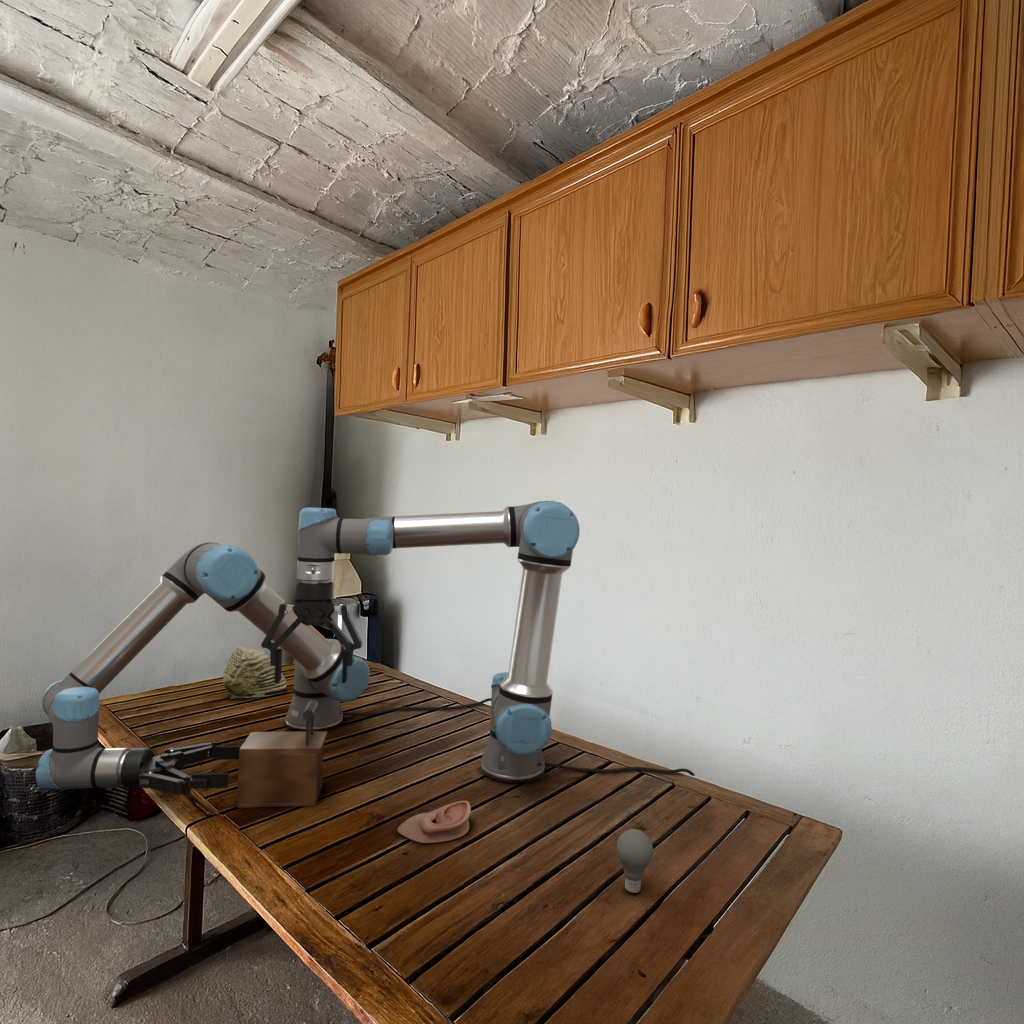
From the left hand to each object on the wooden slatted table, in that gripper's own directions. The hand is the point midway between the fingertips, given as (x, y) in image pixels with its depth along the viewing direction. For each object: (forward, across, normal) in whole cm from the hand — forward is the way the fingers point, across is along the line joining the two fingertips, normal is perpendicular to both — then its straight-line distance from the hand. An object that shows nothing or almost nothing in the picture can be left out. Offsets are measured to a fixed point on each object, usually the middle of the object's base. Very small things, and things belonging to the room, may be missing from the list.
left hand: (237, 765), depth 131 cm
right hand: (+14, 0, +18) cm, 22 cm away
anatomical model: (+41, +15, -7) cm, 44 cm away
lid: (+9, 0, +4) cm, 10 cm away
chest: (+9, 0, -7) cm, 11 cm away
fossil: (-13, -69, -7) cm, 71 cm away
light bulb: (+73, +37, -7) cm, 82 cm away
